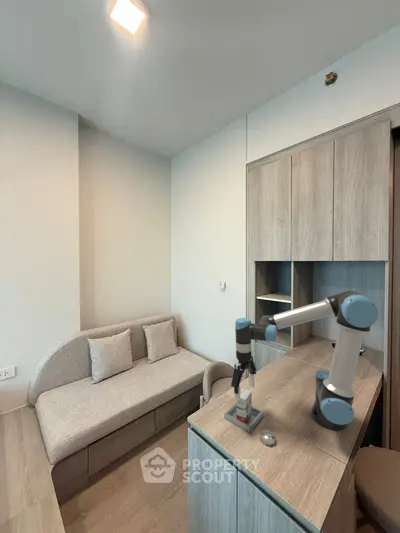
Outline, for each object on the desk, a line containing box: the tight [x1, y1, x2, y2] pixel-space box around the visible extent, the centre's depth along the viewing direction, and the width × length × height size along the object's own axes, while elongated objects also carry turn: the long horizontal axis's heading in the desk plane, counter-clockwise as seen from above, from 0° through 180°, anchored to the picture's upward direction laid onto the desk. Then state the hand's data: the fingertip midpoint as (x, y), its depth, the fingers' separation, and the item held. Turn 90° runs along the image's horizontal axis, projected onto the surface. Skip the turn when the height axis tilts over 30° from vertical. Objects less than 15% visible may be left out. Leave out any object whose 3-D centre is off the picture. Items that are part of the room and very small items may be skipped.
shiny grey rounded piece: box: [260, 429, 276, 447], centre depth 97 cm, size 6×6×2 cm
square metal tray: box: [223, 401, 264, 434], centre depth 111 cm, size 14×14×2 cm
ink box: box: [236, 388, 253, 423], centre depth 111 cm, size 8×5×12 cm, turn 147°
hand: (244, 392), depth 111 cm, fingers open, 13 cm apart
